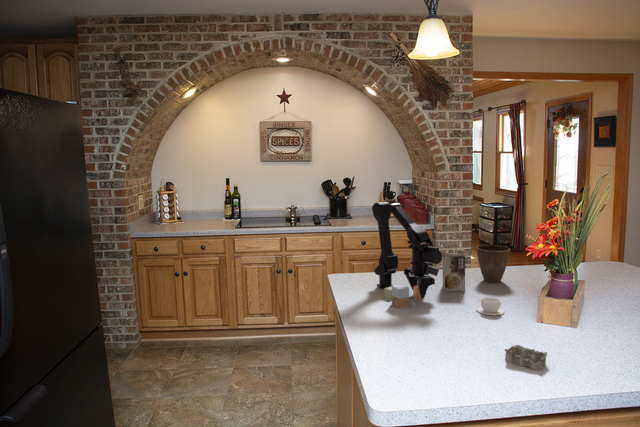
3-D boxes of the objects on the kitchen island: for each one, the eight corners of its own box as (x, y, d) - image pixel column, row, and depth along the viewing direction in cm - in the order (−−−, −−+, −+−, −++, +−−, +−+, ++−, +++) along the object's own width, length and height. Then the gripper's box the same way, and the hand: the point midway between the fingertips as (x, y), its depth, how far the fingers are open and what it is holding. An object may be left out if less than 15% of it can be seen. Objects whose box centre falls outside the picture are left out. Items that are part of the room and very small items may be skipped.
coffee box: (462, 287, 210) (462, 252, 208) (465, 291, 204) (465, 255, 202) (441, 286, 211) (442, 252, 209) (444, 291, 205) (444, 255, 203)
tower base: (391, 304, 190) (391, 294, 189) (404, 303, 191) (404, 293, 190) (396, 308, 184) (396, 298, 184) (409, 307, 185) (409, 297, 185)
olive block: (384, 297, 199) (384, 288, 198) (390, 295, 201) (390, 286, 201) (391, 299, 196) (391, 290, 195) (397, 297, 198) (397, 288, 197)
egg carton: (502, 361, 137) (502, 348, 137) (512, 353, 142) (513, 340, 142) (539, 373, 130) (539, 359, 129) (548, 364, 135) (549, 350, 134)
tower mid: (391, 295, 188) (391, 285, 188) (402, 293, 190) (402, 284, 190) (398, 298, 184) (398, 289, 183) (409, 297, 186) (409, 287, 185)
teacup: (506, 317, 173) (506, 305, 172) (478, 315, 174) (479, 304, 174) (501, 308, 182) (501, 296, 182) (475, 307, 184) (475, 295, 184)
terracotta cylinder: (411, 296, 198) (411, 285, 198) (421, 295, 199) (421, 284, 199) (415, 299, 194) (415, 288, 193) (425, 298, 195) (426, 287, 194)
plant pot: (473, 276, 228) (473, 244, 226) (504, 276, 226) (505, 244, 224) (479, 284, 213) (480, 251, 211) (512, 285, 211) (514, 251, 209)
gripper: (446, 263, 187) (446, 300, 189) (426, 253, 205) (426, 287, 207) (421, 265, 185) (421, 302, 187) (403, 255, 203) (403, 289, 205)
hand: (418, 295), depth 197 cm, fingers open, 8 cm apart
